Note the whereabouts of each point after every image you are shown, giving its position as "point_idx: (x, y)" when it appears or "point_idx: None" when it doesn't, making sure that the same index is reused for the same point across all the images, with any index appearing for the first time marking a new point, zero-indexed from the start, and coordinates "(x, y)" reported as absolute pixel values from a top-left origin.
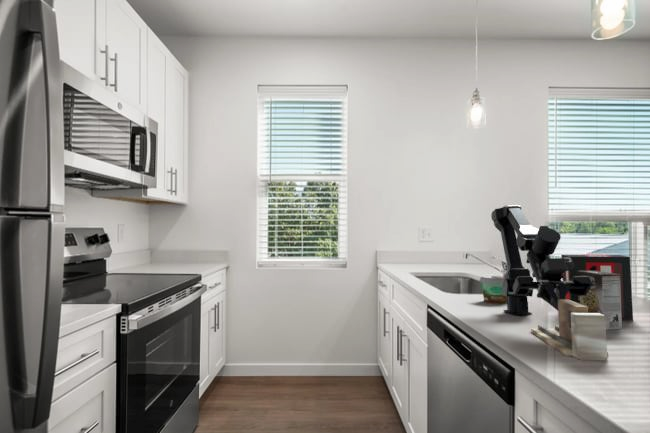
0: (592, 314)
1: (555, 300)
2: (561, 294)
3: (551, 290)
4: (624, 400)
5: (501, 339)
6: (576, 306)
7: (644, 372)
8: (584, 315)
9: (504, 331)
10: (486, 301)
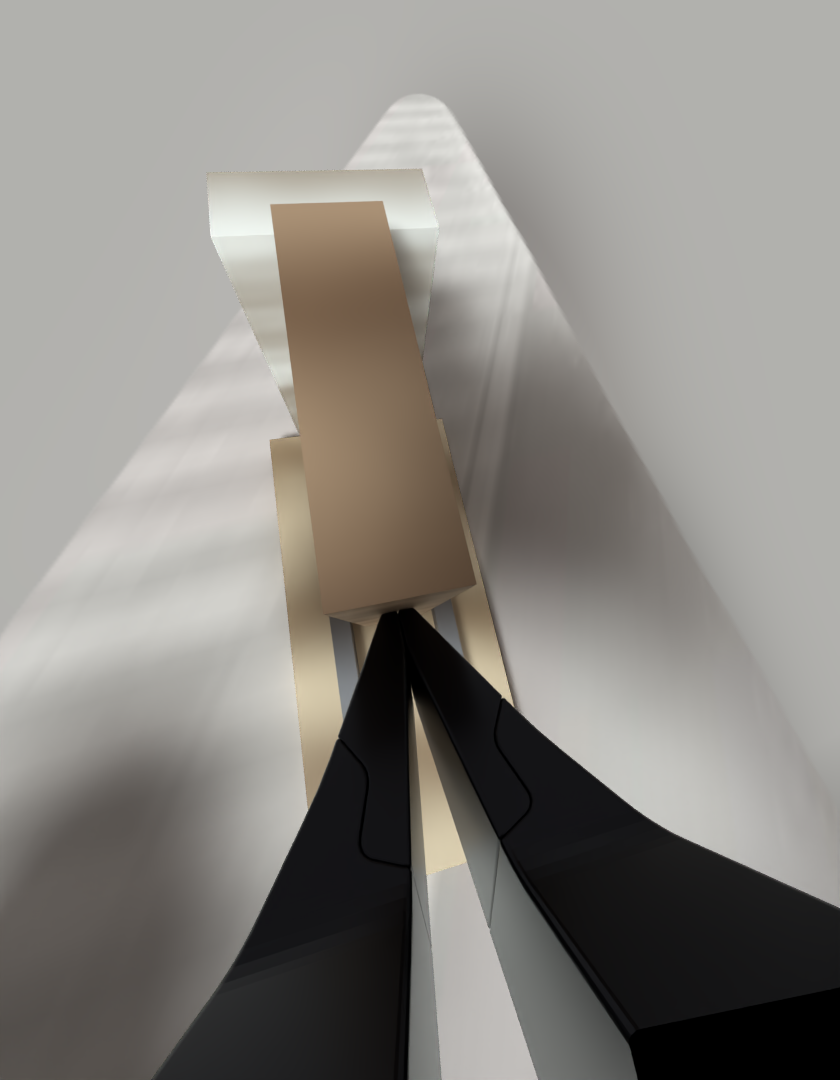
0: (292, 191)
1: (482, 683)
2: (372, 828)
3: (615, 871)
4: (388, 166)
5: (677, 596)
6: (377, 208)
7: (231, 322)
8: (363, 172)
9: (681, 779)
10: None
